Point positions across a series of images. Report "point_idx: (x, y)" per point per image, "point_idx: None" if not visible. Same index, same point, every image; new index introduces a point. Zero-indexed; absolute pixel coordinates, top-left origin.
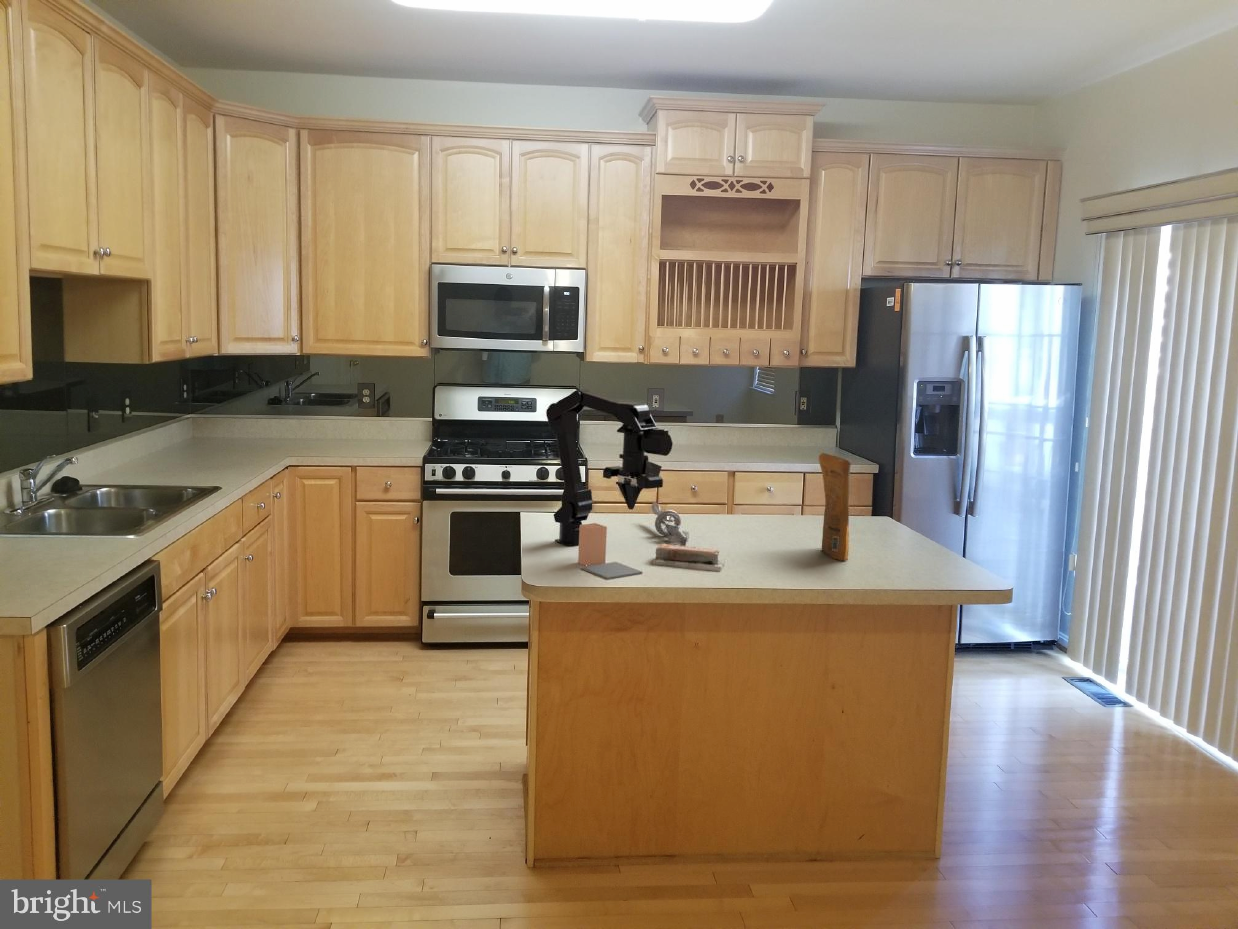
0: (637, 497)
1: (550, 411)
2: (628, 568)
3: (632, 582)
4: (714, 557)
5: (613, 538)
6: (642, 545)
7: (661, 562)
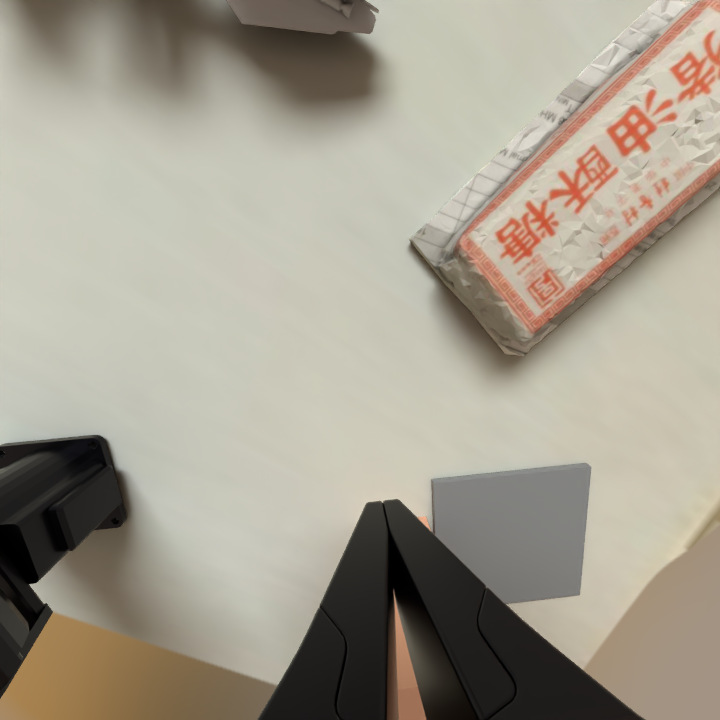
0: (493, 601)
1: None
2: (532, 488)
3: (641, 540)
4: None
5: (18, 253)
6: (201, 196)
7: (544, 336)
